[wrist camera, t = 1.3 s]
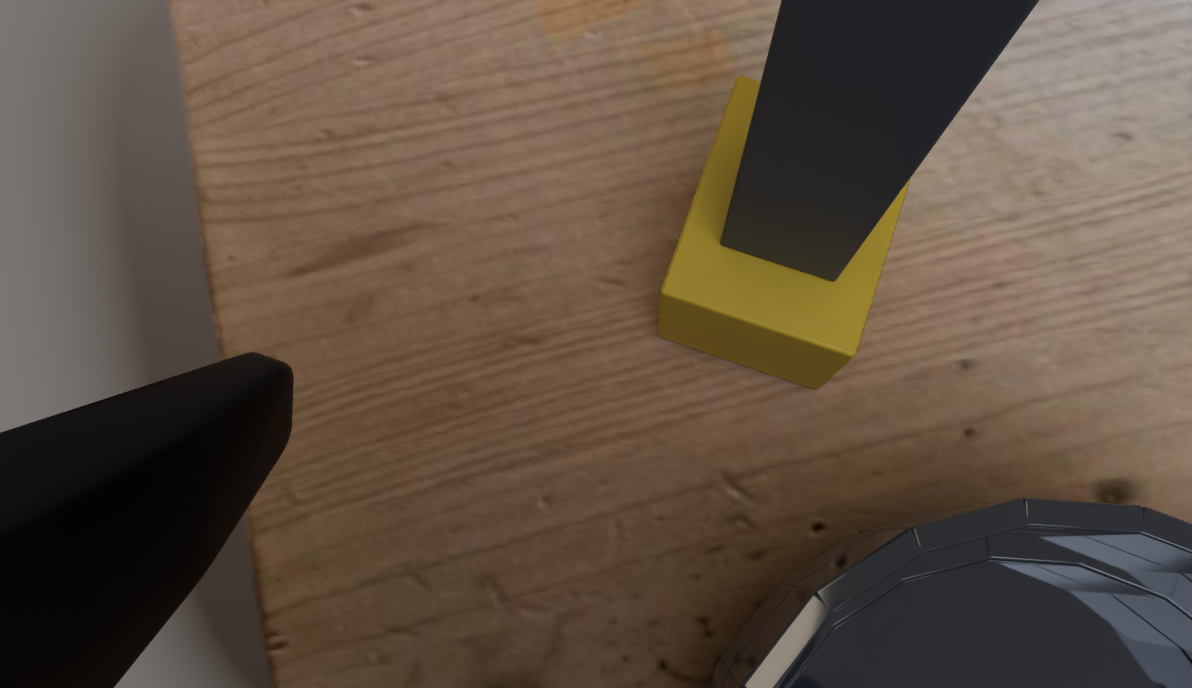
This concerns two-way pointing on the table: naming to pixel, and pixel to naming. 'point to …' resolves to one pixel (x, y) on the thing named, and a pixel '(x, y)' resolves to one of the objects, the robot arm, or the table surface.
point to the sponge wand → (821, 176)
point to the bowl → (982, 604)
